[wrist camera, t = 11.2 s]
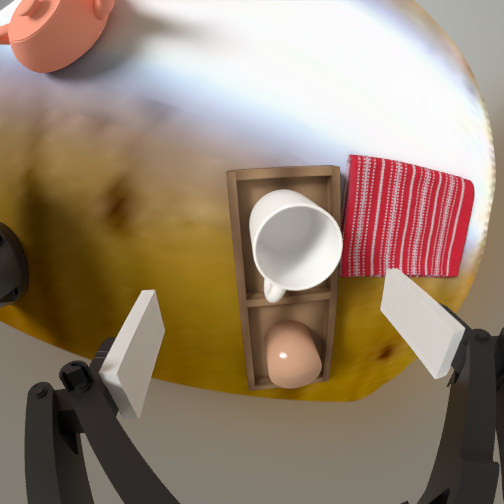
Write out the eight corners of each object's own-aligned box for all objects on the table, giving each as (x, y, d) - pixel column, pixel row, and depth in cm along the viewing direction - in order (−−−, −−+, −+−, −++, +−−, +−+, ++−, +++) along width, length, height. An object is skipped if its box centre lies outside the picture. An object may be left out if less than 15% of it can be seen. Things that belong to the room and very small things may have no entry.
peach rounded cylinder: (265, 358, 42) (269, 391, 36) (263, 322, 40) (267, 354, 33) (309, 353, 42) (319, 384, 36) (311, 317, 40) (323, 347, 33)
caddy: (248, 377, 45) (249, 390, 42) (227, 170, 33) (226, 172, 31) (323, 369, 45) (328, 380, 42) (331, 165, 34) (339, 166, 31)
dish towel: (449, 275, 41) (458, 281, 38) (330, 274, 39) (336, 282, 37) (469, 179, 35) (479, 181, 33) (345, 151, 34) (353, 152, 31)
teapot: (151, -26, 22) (127, -71, 11) (138, 56, 28) (99, 22, 16) (33, 14, 21) (-9, -5, 10) (17, 91, 26) (-35, 85, 15)
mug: (293, 285, 38) (310, 329, 28) (232, 270, 37) (231, 313, 27) (324, 199, 34) (355, 219, 25) (260, 179, 33) (269, 191, 23)
